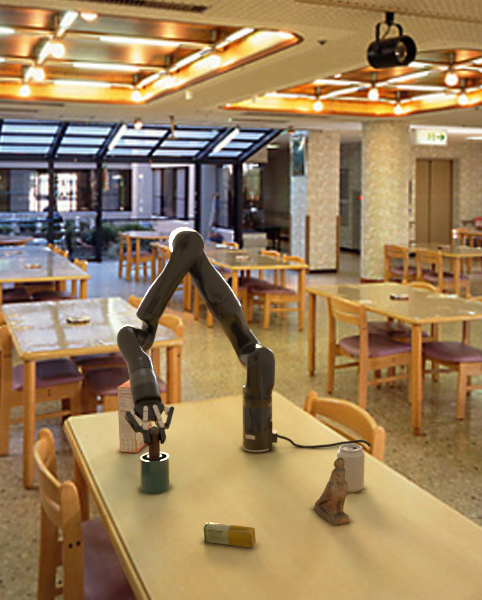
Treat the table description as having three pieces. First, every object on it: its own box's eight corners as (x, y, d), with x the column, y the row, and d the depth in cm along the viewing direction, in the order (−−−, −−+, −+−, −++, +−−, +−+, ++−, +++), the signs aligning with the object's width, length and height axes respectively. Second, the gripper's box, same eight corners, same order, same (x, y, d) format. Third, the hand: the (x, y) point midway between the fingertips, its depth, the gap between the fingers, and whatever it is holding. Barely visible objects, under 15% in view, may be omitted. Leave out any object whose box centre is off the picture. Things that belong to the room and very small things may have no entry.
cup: (170, 482, 219) (170, 451, 218) (167, 493, 212) (167, 461, 210) (142, 483, 218) (142, 452, 217) (139, 494, 211) (138, 462, 210)
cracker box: (135, 438, 257) (134, 375, 254) (153, 439, 256) (152, 376, 253) (118, 452, 243) (116, 386, 240) (136, 453, 242) (135, 387, 239)
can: (368, 486, 219) (368, 444, 217) (357, 495, 212) (358, 452, 210) (343, 481, 222) (344, 440, 220) (331, 490, 215) (332, 448, 213)
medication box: (203, 542, 183) (202, 527, 182) (208, 536, 186) (207, 521, 185) (252, 548, 180) (251, 532, 179) (256, 542, 183) (255, 526, 182)
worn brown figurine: (349, 531, 196) (358, 468, 190) (329, 534, 194) (337, 471, 188) (331, 504, 206) (339, 443, 200) (311, 507, 204) (319, 445, 198)
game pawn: (162, 456, 216) (162, 424, 215) (161, 461, 212) (160, 428, 211) (147, 456, 216) (147, 424, 214) (145, 462, 212) (145, 428, 210)
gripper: (120, 383, 214) (131, 440, 205) (172, 378, 221) (184, 433, 212) (117, 397, 220) (127, 453, 211) (167, 392, 226) (179, 446, 217)
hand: (155, 443), depth 211 cm, fingers closed on game pawn, 3 cm apart
